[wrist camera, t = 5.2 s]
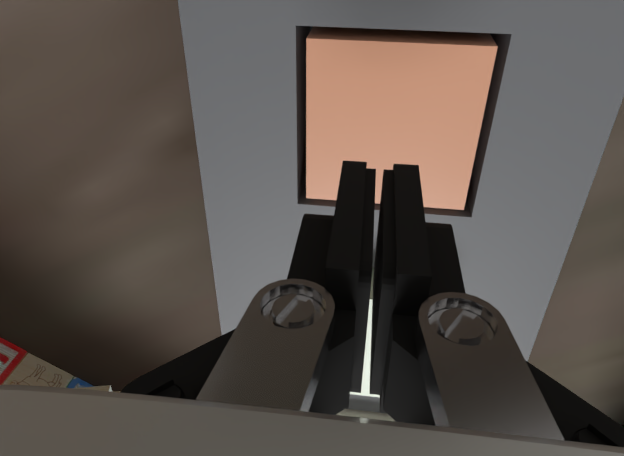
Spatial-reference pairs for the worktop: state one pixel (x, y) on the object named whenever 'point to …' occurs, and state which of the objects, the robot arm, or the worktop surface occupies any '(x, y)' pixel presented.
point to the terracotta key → (396, 106)
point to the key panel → (488, 159)
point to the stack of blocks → (32, 370)
